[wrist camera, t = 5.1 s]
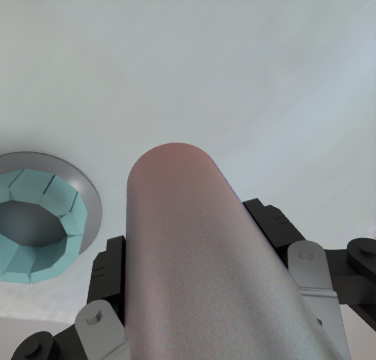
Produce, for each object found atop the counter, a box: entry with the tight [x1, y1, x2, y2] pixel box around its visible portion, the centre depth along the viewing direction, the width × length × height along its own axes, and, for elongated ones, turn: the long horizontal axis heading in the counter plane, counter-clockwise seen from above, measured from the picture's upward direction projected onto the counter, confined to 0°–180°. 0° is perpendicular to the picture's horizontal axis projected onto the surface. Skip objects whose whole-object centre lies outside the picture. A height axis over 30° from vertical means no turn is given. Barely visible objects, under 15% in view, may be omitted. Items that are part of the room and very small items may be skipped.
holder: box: [0, 152, 102, 284], centre depth 28 cm, size 13×13×5 cm
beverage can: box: [124, 143, 344, 360], centre depth 12 cm, size 6×6×15 cm
